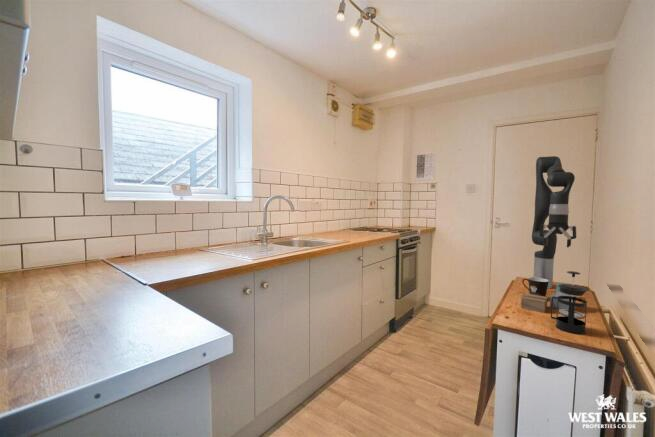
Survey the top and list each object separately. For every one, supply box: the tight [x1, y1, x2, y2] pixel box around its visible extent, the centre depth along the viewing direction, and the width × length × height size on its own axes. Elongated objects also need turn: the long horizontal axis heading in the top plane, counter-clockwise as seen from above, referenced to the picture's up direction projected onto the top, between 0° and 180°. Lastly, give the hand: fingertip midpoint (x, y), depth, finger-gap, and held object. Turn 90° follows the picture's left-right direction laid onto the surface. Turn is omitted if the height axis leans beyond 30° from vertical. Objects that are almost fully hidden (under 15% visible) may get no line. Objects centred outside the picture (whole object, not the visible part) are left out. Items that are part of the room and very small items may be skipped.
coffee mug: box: [521, 276, 549, 297], centre depth 156 cm, size 12×9×10 cm
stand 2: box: [549, 292, 577, 310], centre depth 142 cm, size 9×9×5 cm
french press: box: [550, 270, 589, 335], centre depth 118 cm, size 12×9×23 cm
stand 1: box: [520, 292, 549, 313], centre depth 142 cm, size 9×9×5 cm
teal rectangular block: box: [555, 281, 572, 300], centre depth 142 cm, size 5×7×6 cm
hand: (556, 246), depth 148 cm, fingers open, 8 cm apart
